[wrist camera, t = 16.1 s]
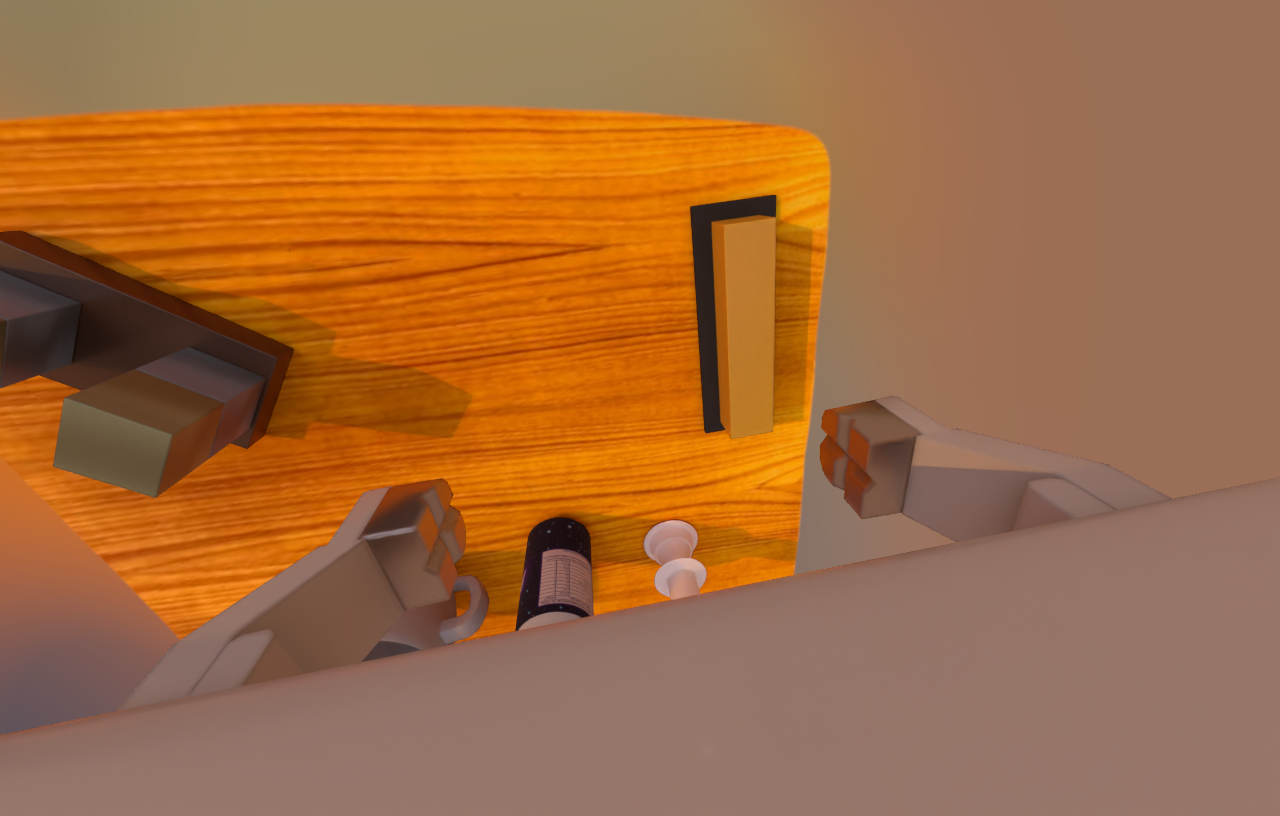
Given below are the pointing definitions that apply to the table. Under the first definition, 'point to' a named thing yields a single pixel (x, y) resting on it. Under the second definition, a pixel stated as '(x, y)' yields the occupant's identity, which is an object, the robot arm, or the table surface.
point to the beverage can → (556, 575)
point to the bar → (745, 322)
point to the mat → (706, 294)
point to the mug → (435, 623)
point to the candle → (675, 559)
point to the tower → (131, 367)
